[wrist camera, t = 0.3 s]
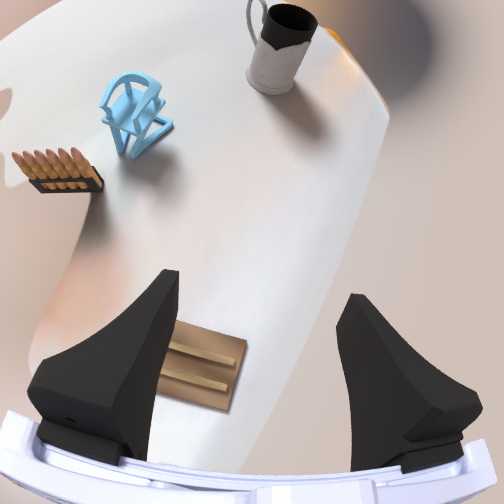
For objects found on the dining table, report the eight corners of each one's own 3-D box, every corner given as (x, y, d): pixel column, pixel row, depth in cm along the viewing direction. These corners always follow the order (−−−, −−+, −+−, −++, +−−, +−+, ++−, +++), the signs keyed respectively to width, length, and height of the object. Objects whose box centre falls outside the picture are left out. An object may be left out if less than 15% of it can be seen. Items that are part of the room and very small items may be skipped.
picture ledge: (226, 408, 40) (227, 412, 38) (126, 379, 38) (123, 382, 36) (245, 339, 42) (248, 341, 40) (144, 309, 40) (142, 309, 38)
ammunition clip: (104, 180, 42) (80, 140, 31) (102, 192, 42) (77, 154, 30) (43, 182, 40) (8, 146, 29) (40, 193, 40) (4, 160, 28)
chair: (105, 147, 43) (84, 103, 32) (133, 107, 45) (123, 58, 33) (146, 166, 44) (134, 122, 32) (174, 123, 46) (171, 74, 34)
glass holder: (265, 101, 50) (290, 40, 35) (219, 52, 50) (230, -10, 36) (303, 85, 52) (333, 29, 37) (256, 39, 52) (274, -18, 38)
